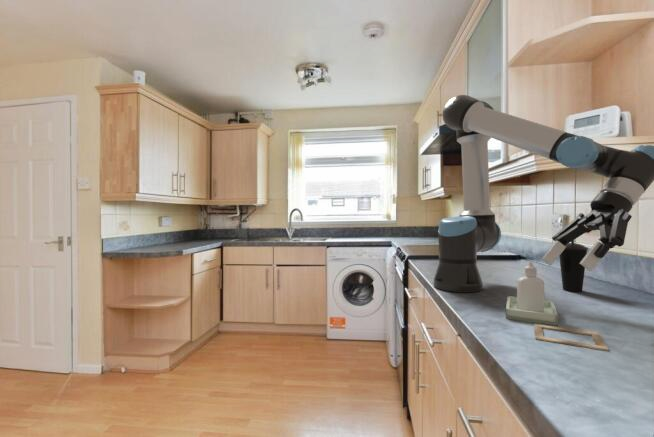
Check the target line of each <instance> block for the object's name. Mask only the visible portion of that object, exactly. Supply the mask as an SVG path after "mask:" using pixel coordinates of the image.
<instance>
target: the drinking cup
mask: <svg viewBox="0 0 654 437" xmlns="http://www.w3.org/2000/svg"><path fill="white" fill-rule="evenodd" d="M588 250H589V247H588V246H585V245H583V244H580V243H577V242H575V239H574V240H573V241H571V242H569V243H568V244H566V248H565V249H564V250H563V252H562V253H561V254H560V256H559V257H558V258H559V263H560V265H559V266H560V272H561V273H560V275H561V284H562V285H561V286H562V290H563V291H566V292H570V293H581V292H583V287H584V281H585V280H584V279H585V272H586V271H585V270H586V268H585V267H584V266H582V265H581V264H580V262H581V261H582V259H583V258H584V257H585V256H586V254H587V253H588Z"/></svg>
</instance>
